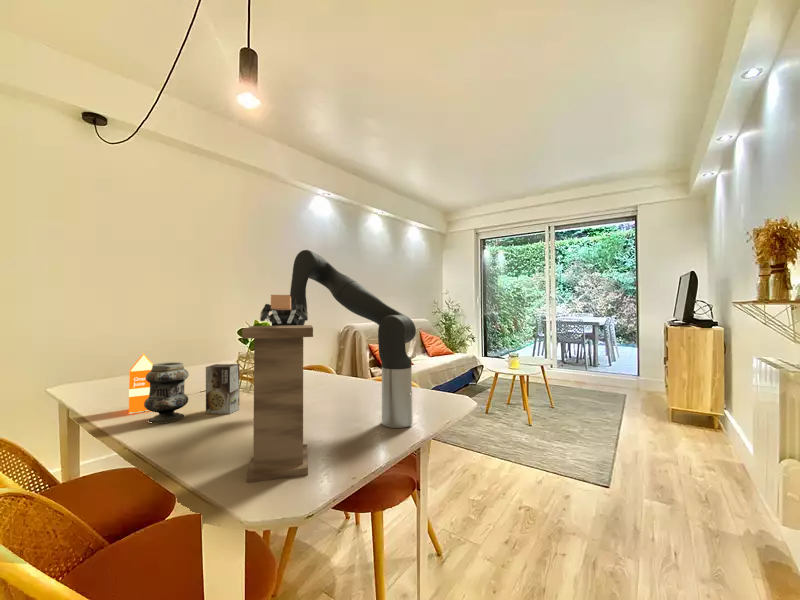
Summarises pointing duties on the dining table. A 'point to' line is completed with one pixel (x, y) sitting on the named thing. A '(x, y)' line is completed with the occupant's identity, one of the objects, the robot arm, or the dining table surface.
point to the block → (281, 302)
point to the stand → (278, 402)
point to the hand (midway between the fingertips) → (283, 299)
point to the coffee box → (222, 388)
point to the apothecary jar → (166, 391)
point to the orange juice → (139, 384)
